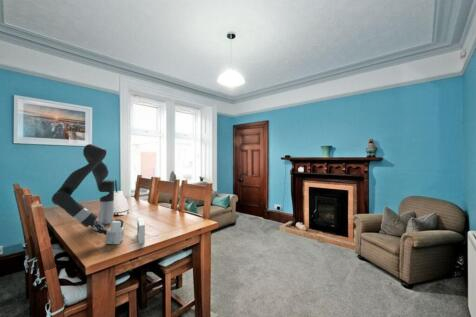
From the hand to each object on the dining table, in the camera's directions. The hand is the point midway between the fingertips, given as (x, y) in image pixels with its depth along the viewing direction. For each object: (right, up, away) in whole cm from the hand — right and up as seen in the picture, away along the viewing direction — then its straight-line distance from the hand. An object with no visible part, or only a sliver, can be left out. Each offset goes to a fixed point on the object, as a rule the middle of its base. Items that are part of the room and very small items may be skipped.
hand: (109, 235), depth 129 cm
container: (+2, -5, +1) cm, 5 cm away
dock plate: (+15, -5, +8) cm, 18 cm away
